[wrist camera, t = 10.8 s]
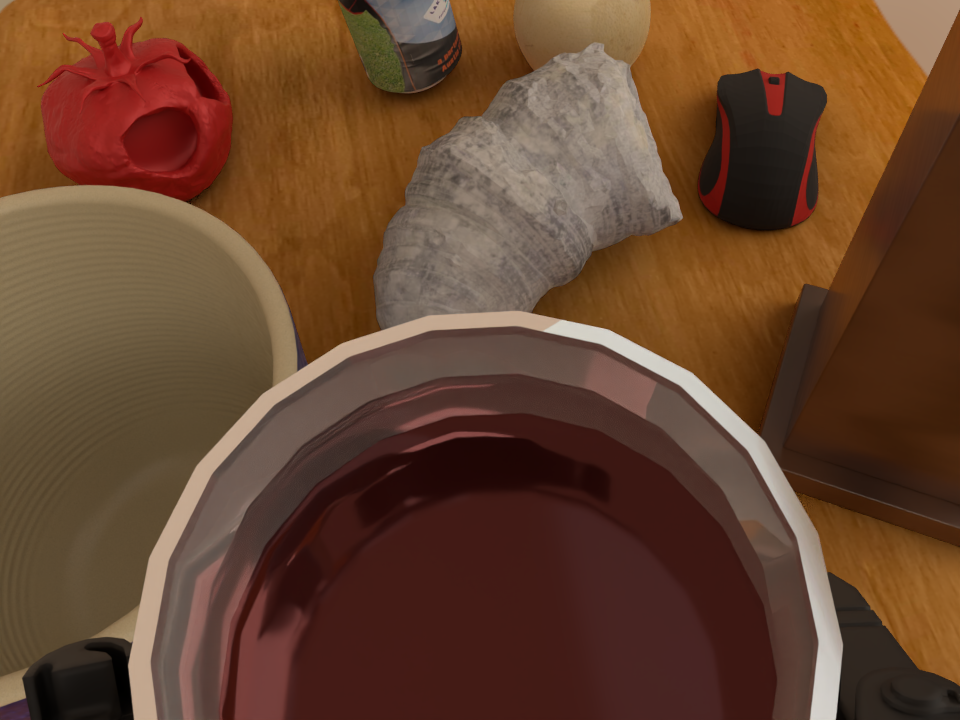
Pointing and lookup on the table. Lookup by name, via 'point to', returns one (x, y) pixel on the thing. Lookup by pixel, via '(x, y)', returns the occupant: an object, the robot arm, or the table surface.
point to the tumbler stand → (886, 340)
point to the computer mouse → (763, 151)
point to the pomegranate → (138, 116)
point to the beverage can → (404, 41)
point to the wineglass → (487, 544)
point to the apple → (580, 28)
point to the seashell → (524, 194)
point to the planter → (113, 397)
